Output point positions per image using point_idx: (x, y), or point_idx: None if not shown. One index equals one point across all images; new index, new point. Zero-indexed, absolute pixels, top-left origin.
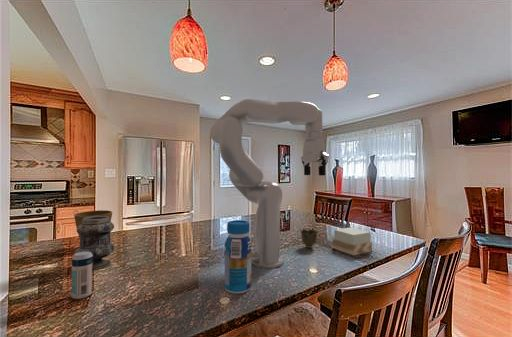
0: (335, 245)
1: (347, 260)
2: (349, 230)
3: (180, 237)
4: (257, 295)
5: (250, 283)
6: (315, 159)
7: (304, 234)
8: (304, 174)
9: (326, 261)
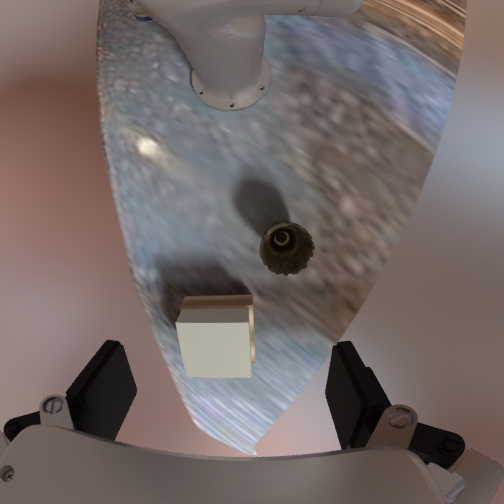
0: (241, 299)
1: (163, 258)
2: (222, 351)
3: (459, 31)
4: (121, 27)
5: (137, 17)
6: (33, 435)
7: (279, 223)
8: (346, 341)
9: (175, 208)
